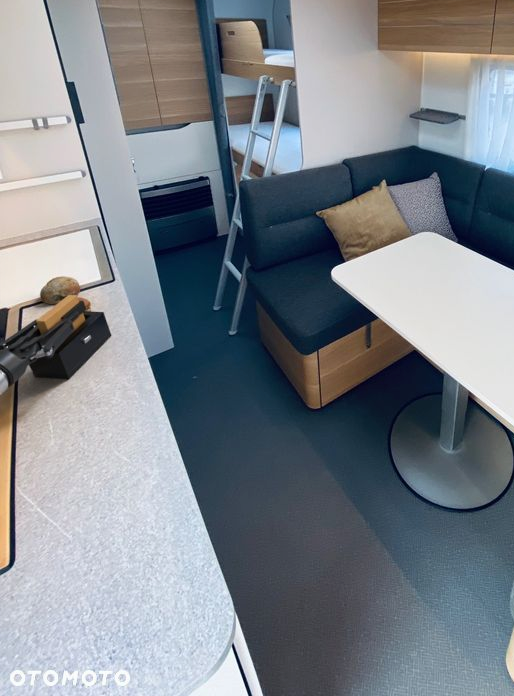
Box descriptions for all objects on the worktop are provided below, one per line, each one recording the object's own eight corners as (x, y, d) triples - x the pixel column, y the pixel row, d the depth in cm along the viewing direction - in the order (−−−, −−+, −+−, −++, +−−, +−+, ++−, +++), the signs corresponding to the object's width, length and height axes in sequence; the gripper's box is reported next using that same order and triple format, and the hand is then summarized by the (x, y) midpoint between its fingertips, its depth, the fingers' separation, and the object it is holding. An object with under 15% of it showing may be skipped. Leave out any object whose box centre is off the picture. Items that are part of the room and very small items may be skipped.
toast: (48, 352, 98) (35, 321, 95) (79, 324, 108) (68, 294, 104) (57, 353, 98) (44, 321, 95) (87, 325, 107) (76, 295, 104)
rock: (48, 316, 125) (43, 301, 120) (37, 292, 129) (31, 277, 124) (85, 301, 132) (82, 286, 127) (74, 279, 136) (70, 264, 131)
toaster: (34, 377, 98) (23, 351, 95) (80, 334, 112) (71, 310, 109) (71, 379, 98) (61, 353, 95) (113, 335, 112) (105, 311, 108)
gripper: (-34, 388, 86) (55, 315, 108) (33, 392, 85) (109, 317, 107) (-49, 361, 83) (46, 291, 105) (20, 364, 82) (102, 293, 104)
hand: (78, 304), depth 106 cm, fingers closed on toast, 2 cm apart
